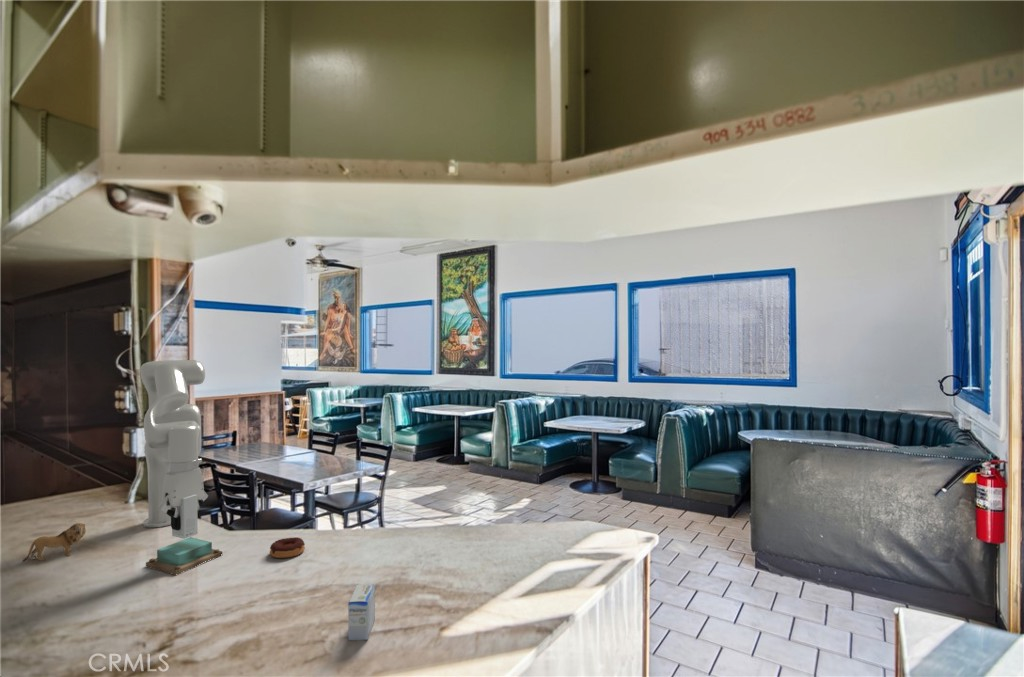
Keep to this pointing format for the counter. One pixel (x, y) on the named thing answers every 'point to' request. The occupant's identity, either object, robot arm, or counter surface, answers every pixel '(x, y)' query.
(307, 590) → the counter surface
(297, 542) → the donut
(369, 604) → the medicine box
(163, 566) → the tower base
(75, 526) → the lion figurine
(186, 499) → the skincare box
